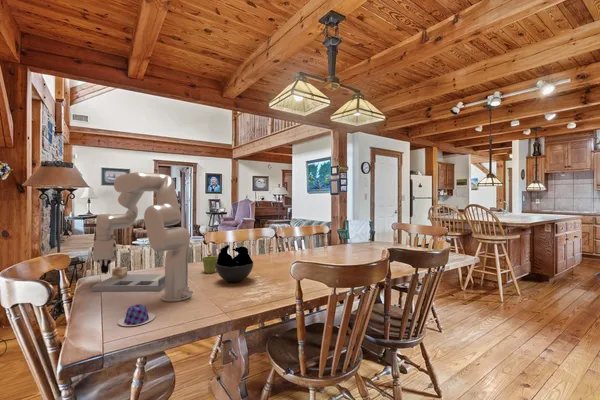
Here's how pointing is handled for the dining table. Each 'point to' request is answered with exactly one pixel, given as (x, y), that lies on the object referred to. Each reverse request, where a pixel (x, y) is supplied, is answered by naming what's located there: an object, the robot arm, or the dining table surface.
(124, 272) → the block
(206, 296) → the dining table surface
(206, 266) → the plant pot
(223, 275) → the black bowl plant
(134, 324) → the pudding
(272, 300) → the dining table surface
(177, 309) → the dining table surface
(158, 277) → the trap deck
